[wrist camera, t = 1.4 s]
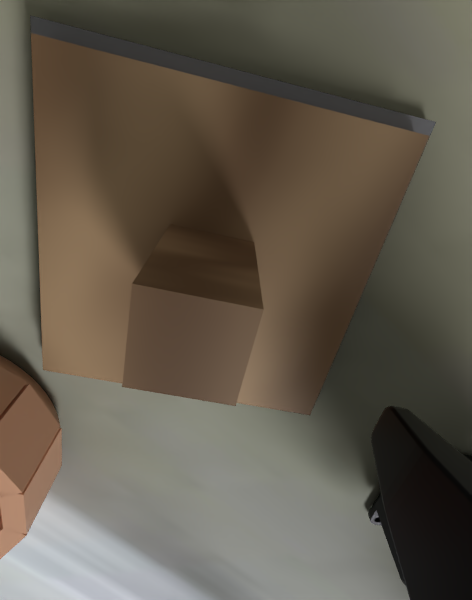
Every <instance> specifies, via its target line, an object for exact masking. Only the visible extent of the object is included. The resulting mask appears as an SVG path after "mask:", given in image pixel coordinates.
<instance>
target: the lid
mask: <svg viewBox="0 0 472 600" xmlns="http://www.w3.org/2000/svg"><path fill="white" fill-rule="evenodd" d="M31 48H32V76H33V104H34V132H35V161H36V189H37V217H38V245H39V273H40V301H41V329H42V357H43V370H47V371H53V372H58V373H64V374H70V375H76V376H82V377H88V378H94V379H100V380H105V381H111V382H117V383H123V384H122V387H127V388H132V389H138V390H144V391H150V392H156V393H162V394H168V395H174V396H180V397H186V398H192V399H198V400H203V401H209V402H215V403H221V404H227V405H233V406H236V403H241V404H247V405H253V406H258V407H264V408H270V409H276V410H282V411H288V412H294V413H300V414H305V415H310V414H311V412H312V409H313V407H314V405H315V402H316V400H317V398H318V395H319V393H320V391H321V388H322V386H323V384H324V381H325V379H326V377H327V374H328V372H329V370H330V367H331V365H332V363H333V360H334V358H335V356H336V353H337V351H338V349H339V347H340V344H341V342H342V340H343V337H344V335H345V333H346V330H347V328H348V326H349V323H350V321H351V319H352V316H353V314H354V312H355V309H356V307H357V305H358V302H359V300H360V298H361V295H362V293H363V291H364V288H365V286H366V284H367V281H368V279H369V277H370V274H371V272H372V270H373V267H374V265H375V263H376V260H377V258H378V256H379V253H380V251H381V249H382V246H383V244H384V242H385V239H386V237H387V235H388V232H389V230H390V228H391V225H392V223H393V221H394V218H395V216H396V214H397V211H398V209H399V207H400V204H401V202H402V200H403V197H404V195H405V193H406V190H407V188H408V186H409V183H410V181H411V179H412V176H413V174H414V172H415V169H416V167H417V165H418V162H419V160H420V158H421V155H422V153H423V151H424V148H425V146H426V144H427V141H428V139H429V137H430V136H428V135H424V134H420V133H417V132H413V131H409V130H405V129H401V128H397V127H393V126H389V125H386V124H382V123H378V122H374V121H370V120H366V119H362V118H358V117H355V116H351V115H347V114H343V113H339V112H335V111H331V110H328V109H324V108H320V107H316V106H312V105H308V104H304V103H300V102H297V101H293V100H289V99H285V98H281V97H277V96H273V95H269V94H266V93H262V92H258V91H254V90H250V89H246V88H242V87H238V86H235V85H231V84H227V83H223V82H219V81H215V80H211V79H208V78H204V77H200V76H196V75H192V74H188V73H184V72H180V71H177V70H173V69H169V68H165V67H161V66H157V65H153V64H149V63H146V62H142V61H138V60H134V59H130V58H126V57H122V56H119V55H115V54H111V53H107V52H103V51H99V50H95V49H91V48H88V47H84V46H80V45H76V44H72V43H68V42H64V41H60V40H57V39H53V38H49V37H45V36H41V35H37V34H33V33H31Z"/></svg>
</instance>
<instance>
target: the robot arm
mask: <svg viewBox="0 0 472 600" xmlns="http://www.w3.org/2000/svg"><path fill="white" fill-rule="evenodd" d="M371 438H372V447H373V452H374V457H375V463H376V468H377V474H378V479H379V484H380V490H381V494H380V495H379V497H378V498H377V500H376V502H375V503H374V505H373V506H372V508H371V509H370V511H369V513H368V515H369V518H370V521H371V523H372V524H375V525H382V527H383V530H384V533H385V536H386V539H387V541H388V544H389V547H390V550H391V553H392V555H393V558H394V561H395V564H396V567H397V569H398V572H399V575H400V578H401V580H402V582H403V583H404V585H405V586H406V587H407V591H408V594H409V598H410V600H472V456H468V455H463V454H461V453H460V452H459V451H458V450H456V449H455V448H454V447H453V446H452V445H450V444H449V443H448V442H447V441H446V440H444V439H443V438H442V437H441V436H439V435H438V434H437V433H436V432H435V431H433V430H432V429H431V428H430V427H428V426H427V425H426V424H425V423H424V422H422V421H421V420H420V419H419V418H417V417H416V416H415V415H414V414H413V413H411V412H410V411H409V410H407V409H405V408H400V407H395V406H388V407H387V408H385V410H384V411H383V413H382V415H381V417H380V418H379V420H378V422H377V424H376V426H375V428H374V429H373V432H372V437H371Z"/></svg>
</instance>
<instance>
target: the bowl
mask: <svg viewBox="0 0 472 600" xmlns="http://www.w3.org/2000/svg"><path fill="white" fill-rule="evenodd" d="M60 427H61V426H60V422H59V418H58V415H57V412H56V410H55V408H54V405H53V403H52V402H51V400H50V399H49V397H48V395H47V394H46V393H45V391H44V390H43V389H42V388H41V387H40V385H39V384H38V383H37V382H36V381H35V380H34V379H33V378H32V377H31V376H30V375H28V374H27V373H26V372H25V371H23V370H22V369H21V368H20V367H18V366H17V365H15V364H14V363H12V362H11V361H9V360H8V359H6V358H4V357H2V356H0V559H1V558H2V557H3V556H4V555H5V554H6V553H8V552H9V551H10V550H11V549H12V548H13V547H14V546H15V545H16V544H18V543H19V542H20V541H21V540H22V539H23V538H24V537H25V536H26V535H27V533H28V531H29V529H30V527H31V525H32V523H33V521H34V519H35V517H36V515H37V513H38V511H39V509H40V507H41V505H42V503H43V501H44V500H45V498H46V496H47V494H48V492H49V490H50V488H51V486H52V484H53V482H54V480H55V478H56V476H57V474H58V472H59V470H60V468H61V466H62V429H61V428H60Z"/></svg>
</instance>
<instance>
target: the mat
mask: <svg viewBox="0 0 472 600" xmlns="http://www.w3.org/2000/svg"><path fill="white" fill-rule="evenodd" d="M30 18H31V33H33V34H37V35H41V36H45V37H49V38H53V39H57V40H60V41H64V42H68V43H72V44H76V45H80V46H84V47H88V48H91V49H95V50H99V51H103V52H107V53H111V54H115V55H119V56H122V57H126V58H130V59H134V60H138V61H142V62H146V63H149V64H153V65H157V66H161V67H165V68H169V69H173V70H177V71H180V72H184V73H188V74H192V75H196V76H200V77H204V78H208V79H211V80H215V81H219V82H223V83H227V84H231V85H235V86H238V87H242V88H246V89H250V90H254V91H258V92H262V93H266V94H269V95H273V96H277V97H281V98H285V99H289V100H293V101H297V102H300V103H304V104H308V105H312V106H316V107H320V108H324V109H328V110H331V111H335V112H339V113H343V114H347V115H351V116H355V117H358V118H362V119H366V120H370V121H374V122H378V123H382V124H386V125H389V126H393V127H397V128H401V129H405V130H409V131H413V132H417V133H420V134H424V135H428V136H430V135H431V133H432V130H433V128H434V126H435V123H436V122H434V121H430V120H426V119H423V118H419V117H415V116H411V115H407V114H404V113H400V112H396V111H392V110H388V109H385V108H381V107H377V106H373V105H369V104H366V103H362V102H358V101H354V100H350V99H347V98H343V97H339V96H335V95H331V94H328V93H324V92H320V91H316V90H312V89H309V88H305V87H301V86H297V85H293V84H290V83H286V82H282V81H278V80H274V79H271V78H267V77H263V76H259V75H255V74H251V73H248V72H244V71H240V70H236V69H232V68H229V67H225V66H221V65H217V64H213V63H210V62H206V61H202V60H198V59H194V58H191V57H187V56H183V55H179V54H175V53H172V52H168V51H164V50H160V49H156V48H153V47H149V46H145V45H141V44H137V43H134V42H130V41H126V40H122V39H118V38H115V37H111V36H107V35H103V34H99V33H96V32H92V31H88V30H84V29H80V28H77V27H73V26H69V25H65V24H61V23H58V22H54V21H50V20H46V19H42V18H39V17H35V16H31V15H30ZM428 140H429V139H428ZM427 142H428V141H427ZM425 147H426V146H425ZM424 149H425V148H424ZM422 154H423V153H422ZM421 156H422V155H421ZM419 161H420V160H419ZM418 163H419V162H418ZM415 170H416V169H415ZM412 177H413V176H412ZM409 184H410V183H409ZM406 191H407V190H406ZM403 198H404V197H403ZM400 205H401V204H400ZM397 212H398V211H397ZM394 219H395V218H394ZM391 226H392V225H391ZM388 233H389V232H388ZM385 240H386V239H385ZM382 247H383V246H382ZM379 254H380V253H379ZM376 261H377V260H376ZM373 268H374V267H373ZM370 275H371V274H370ZM367 282H368V281H367ZM364 289H365V288H364ZM361 296H362V295H361ZM358 303H359V302H358ZM355 310H356V309H355ZM352 317H353V316H352ZM349 324H350V323H349ZM346 331H347V330H346ZM343 338H344V337H343ZM340 345H341V344H340ZM337 352H338V351H337ZM336 354H337V353H336ZM334 359H335V358H334ZM333 361H334V360H333ZM331 366H332V365H331ZM330 368H331V367H330ZM328 373H329V372H328ZM327 375H328V374H327ZM325 380H326V379H325ZM324 382H325V381H324ZM322 387H323V386H322ZM321 389H322V388H321ZM319 394H320V393H319ZM318 396H319V395H318ZM316 401H317V400H316ZM315 403H316V402H315ZM313 408H314V407H313Z"/></svg>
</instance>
